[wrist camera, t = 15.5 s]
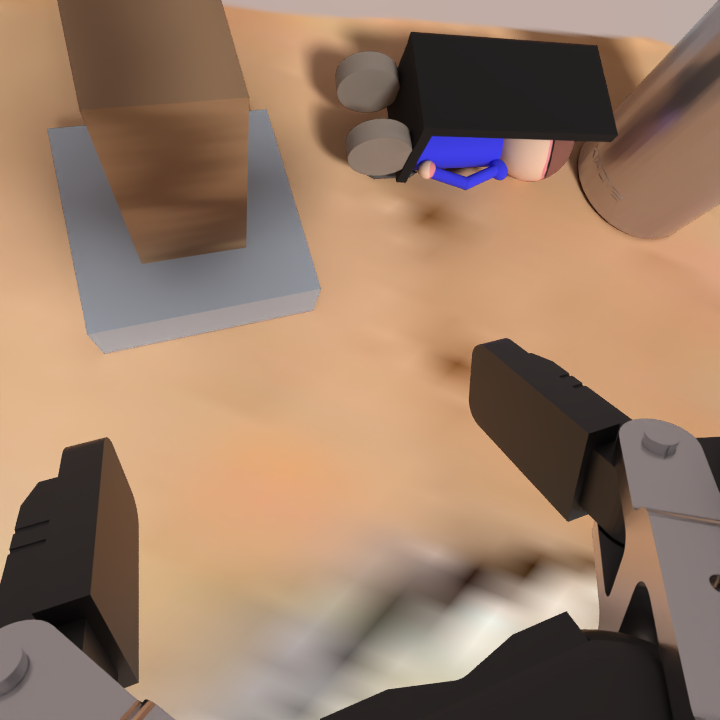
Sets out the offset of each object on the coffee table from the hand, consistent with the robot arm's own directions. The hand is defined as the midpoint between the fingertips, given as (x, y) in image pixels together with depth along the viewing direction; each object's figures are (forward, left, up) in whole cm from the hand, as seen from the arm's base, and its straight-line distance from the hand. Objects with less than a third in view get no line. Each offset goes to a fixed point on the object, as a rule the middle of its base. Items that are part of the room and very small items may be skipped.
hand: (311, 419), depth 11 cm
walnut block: (+1, -13, -13) cm, 19 cm away
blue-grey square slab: (+1, -13, -16) cm, 21 cm away
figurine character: (-16, -16, -16) cm, 28 cm away
